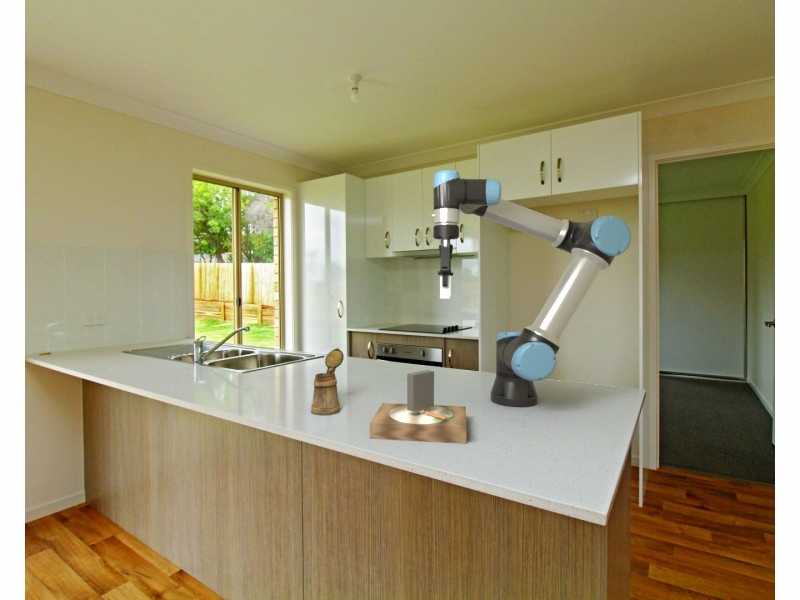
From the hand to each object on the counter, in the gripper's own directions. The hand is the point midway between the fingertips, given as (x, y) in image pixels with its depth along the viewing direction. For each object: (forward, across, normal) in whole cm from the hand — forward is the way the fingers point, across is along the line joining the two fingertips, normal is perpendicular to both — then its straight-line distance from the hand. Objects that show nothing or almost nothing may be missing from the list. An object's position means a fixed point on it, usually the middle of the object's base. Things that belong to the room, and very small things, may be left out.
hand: (445, 297), depth 128 cm
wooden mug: (+35, 0, -36) cm, 50 cm away
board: (+35, +14, -6) cm, 38 cm away
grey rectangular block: (+30, +17, -3) cm, 35 cm away
